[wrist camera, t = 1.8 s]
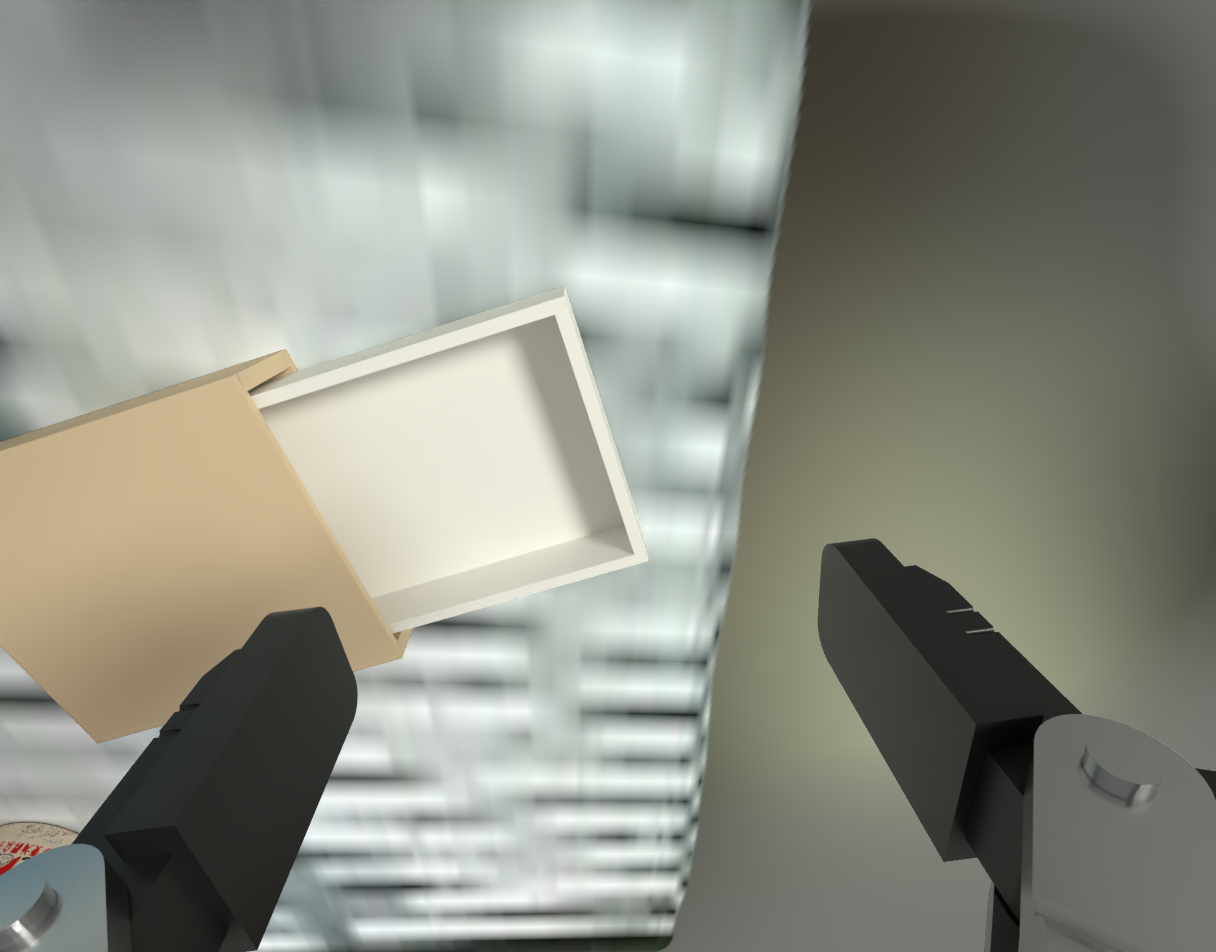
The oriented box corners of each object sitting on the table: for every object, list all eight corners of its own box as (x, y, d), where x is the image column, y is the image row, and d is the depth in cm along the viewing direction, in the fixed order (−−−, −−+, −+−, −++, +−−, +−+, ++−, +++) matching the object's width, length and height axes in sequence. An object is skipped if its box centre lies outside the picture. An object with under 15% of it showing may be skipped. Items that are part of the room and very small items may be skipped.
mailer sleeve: (286, 348, 28) (231, 376, 24) (423, 599, 35) (401, 658, 30) (-37, 453, 29) (-147, 498, 25) (156, 676, 36) (97, 743, 32)
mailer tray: (564, 285, 27) (563, 296, 24) (641, 526, 33) (648, 560, 30) (-34, 478, 29) (-107, 511, 26) (138, 672, 35) (95, 718, 32)
